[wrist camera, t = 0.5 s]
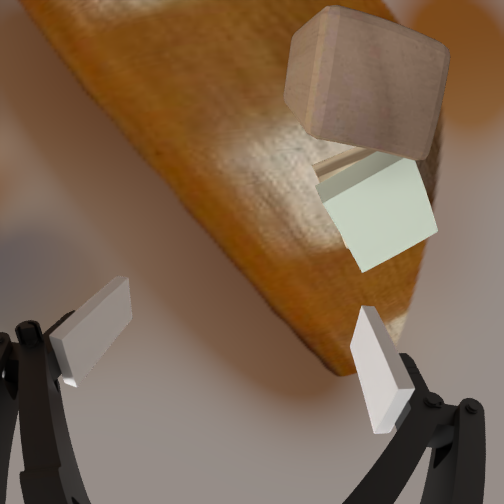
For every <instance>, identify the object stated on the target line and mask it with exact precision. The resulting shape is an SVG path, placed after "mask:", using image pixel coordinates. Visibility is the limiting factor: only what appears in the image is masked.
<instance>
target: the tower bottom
mask: <svg viewBox="0 0 504 504" xmlns="http://www.w3.org/2000/svg"><path fill="white" fill-rule="evenodd" d="M375 152H376V151H375V150H371V149H366V148H362V147H355V148H353V149H350V150H348V151H345V152H343V153H340V154H338V155H336V156H333V157H331V158H328V159H326V160H324V161H321V162H319V163H316V164H314V165H312V167H313V169H314V171H315V174H316V176H317V178H318V180H319V183H321V182H323V181H325V180H327V179H328V178H330V177H332V176H334V175H335V174H337V173H339V172H341V171H342V170H344V169H346V168H348V167H350V166H351V165H353V164H355V163H357V162H359V161H360V160H362V159H364V158H366V157H367V156H369V155H371V154H373V153H375ZM341 236H342V235H341ZM342 238H343V237H342ZM343 241H344V243H345V245H346V248H347V249H348V248H349V247H348V246H347V244H346V242H345V240H344V239H343Z"/></svg>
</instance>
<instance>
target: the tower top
mask: <svg viewBox="0 0 504 504" xmlns="http://www.w3.org/2000/svg"><path fill="white" fill-rule="evenodd" d="M315 187H316V189H317V191H318V194H319V196H320V199H321V201H322V203H323V205H324V207H325V208H326V210H327V212H328V213H329V215H330V217H331V218H332V220H333V222H334V223H335V225H336V227H337V228H338V230H339V232H340V234H341V235H342V237H343V239H344V240H345V242H346V244H347V246H348V247H349V249H350V251H351V253H352V255H353V256H354V258H355V260H356V262H357V264H358V265H359V267H360V269H361V271H362V273H363V272H365V271H367V270H369V269H371V268H373V267H375V266H376V265H378V264H380V263H382V262H384V261H386V260H388V259H390V258H391V257H393V256H395V255H397V254H399V253H401V252H402V251H404V250H406V249H408V248H410V247H411V246H413V245H415V244H417V243H419V242H420V241H422V240H424V239H426V238H427V237H429V236H431V235H432V234H434V233H436V232H438V229H437V226H436V222H435V219H434V215H433V212H432V209H431V205H430V202H429V199H428V196H427V193H426V190H425V187H424V184H423V181H422V178H421V176H420V173H419V170H418V168H417V165H416V162H415V160H411V159H407V158H403V157H399V156H395V155H391V154H387V153H383V152H379V151H376V152H375V153H373V154H371V155H369V156H367V157H366V158H364V159H362V160H360V161H359V162H357V163H355V164H353V165H351V166H350V167H348V168H346V169H344V170H342V171H341V172H339V173H337V174H335V175H334V176H332V177H330V178H328V179H327V180H325V181H323V182H321V183H319V184H318V185H316V186H315Z"/></svg>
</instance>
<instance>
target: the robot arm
mask: <svg viewBox="0 0 504 504" xmlns="http://www.w3.org/2000/svg"><path fill="white" fill-rule="evenodd" d="M131 319H132V310H131V301H130V290H129V280H128V277H122V276H116V277H115V278H114V279H113V280H111V281H110V282H109V283H108V284H107V285H106V286H105V287H103V288H102V289H101V290H100V291H98V292H97V293H96V294H95V295H94V296H93V297H91V298H90V299H89V300H88V301H87V302H86V303H85V304H83V305H82V306H81V307H80V308H79V309H78V310H77V311H75V310H73V311H71V312H69V313H67V314H65V315H64V316H63V317H62V318H61V319H60V320H58V321H57V322H56V323H55V324H54V325H53V326H51V327H50V328H49V329H48V330H47V331H46V332H45V333H44V334H43V335H42V331H41V328H40V325H39V323H38V322H37V321H32V320H28V321H24V322H22V323H20V324H19V325H17V326H16V328H15V332H16V335H17V338H18V341H19V343H15V342H11V340H10V337H9V335H8V334H7V333H4V332H0V504H5V501H6V489H7V477H8V468H9V460H10V452H11V446H12V440H13V434H14V430H15V425H16V419H17V415H18V411H19V421H20V435H21V444H22V453H23V459H24V467H25V470H24V471H22V472H20V484H21V489H22V493H23V499H24V503H25V504H91V503H90V501H89V498H88V496H87V493H86V490H85V487H84V485H83V481H82V478H81V476H80V472H79V469H78V466H77V462H76V459H75V455H74V452H73V448H72V444H71V440H70V437H69V432H68V428H67V423H66V418H65V414H64V409H63V403H62V397H61V391H60V384H59V381H58V379H57V378H58V377H59V376H60V375H61V374H62V376H63V379H64V382H65V383H67V384H69V385H72V386H74V387H78V386H79V385H80V383H81V382H82V381H83V380H84V378H85V377H86V376H87V374H88V373H89V372H90V370H91V369H92V368H93V367H94V365H95V364H96V363H97V361H98V360H99V359H100V358H101V357H102V355H103V354H104V353H105V351H106V350H107V349H108V348H109V346H110V345H111V344H112V343H113V341H114V340H115V339H116V338H117V337H118V335H119V334H120V333H121V332H122V330H123V329H124V328H125V327H126V326H127V324H128V323H129V322H130V321H131ZM350 348H351V352H352V355H353V358H354V362H355V365H356V369H357V372H358V376H359V379H360V383H361V386H362V390H363V394H364V397H365V401H366V405H367V408H368V412H369V416H370V420H371V424H372V428H373V432H374V434H380V433H390V431H391V430H392V428H393V427H394V425H396V428H397V432H396V434H395V436H394V437H393V439H392V440H391V441H390V443H389V444H388V446H387V448H386V449H385V450H384V452H383V453H382V455H381V456H380V457H379V459H378V460H377V461H376V463H375V464H374V465H373V467H372V468H371V469H370V471H369V472H368V473H367V475H366V476H365V477H364V478H363V480H362V481H361V482H360V484H359V485H358V486H357V487H356V488H355V489H354V491H353V492H352V493H351V494H350V495H349V497H348V498H347V499H346V500H345V501H344V502H343V503H342V504H394V502H395V501H396V499H397V498H398V496H399V494H400V493H401V491H402V489H403V488H404V487H405V485H406V483H407V482H408V480H409V478H410V476H411V475H412V473H413V471H414V469H415V468H416V466H417V464H418V462H419V460H420V459H421V457H422V455H423V453H424V451H425V449H426V447H431V448H432V452H431V457H430V463H429V469H428V473H427V478H426V482H425V487H424V491H423V495H422V499H421V502H420V504H483V496H484V483H485V461H486V443H485V441H486V439H485V418H484V417H485V416H484V409H483V406H482V405H481V403H479V402H478V401H477V400H475V399H472V398H466V399H463V400H462V401H461V402H460V404H459V405H458V406H454V405H448V404H445V403H444V401H443V399H442V398H441V397H440V396H439V395H437V394H436V393H433V392H430V391H429V389H428V387H427V386H426V383H425V381H424V380H423V378H422V376H421V374H420V372H419V370H418V368H417V366H416V364H415V362H414V360H413V359H412V358H411V357H410V356H409V355H407V354H406V353H398V351H397V349H396V347H395V345H394V343H393V341H392V339H391V337H390V335H389V333H388V331H387V330H386V328H385V326H384V324H383V322H382V320H381V318H380V316H379V314H378V312H377V311H376V309H375V307H374V306H361V310H360V314H359V317H358V321H357V324H356V328H355V331H354V335H353V338H352V341H351V345H350Z"/></svg>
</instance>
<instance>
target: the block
mask: <svg viewBox="0 0 504 504" xmlns="http://www.w3.org/2000/svg"><path fill="white" fill-rule="evenodd" d="M449 63H450V52H449V49H448V48H446V46H444V45H443V44H442V43H441V42H439V41H437V40H435V39H432V38H430V37H428V36H426V35H424V34H421V33H419V32H417V31H414V30H412V29H410V28H407V27H405V26H402V25H399V24H397V23H394V22H391V21H389V20H386V19H383V18H380V17H377V16H374V15H371V14H368V13H364V12H361V11H358V10H354V9H350V8H347V7H343V6H339V5H334V6H326V7H325V8H324V9H323V10H321V11H320V12H319V13H318V14H317V15H315V16H314V17H313V18H312V19H311V20H309V21H308V22H307V23H306V24H305V25H304V26H302V27H301V28H300V29H299V30H298V31H297V32H296V33H295V34H294V35H293V37H292V40H291V47H290V54H289V61H288V68H287V76H286V83H285V90H284V100H285V103H286V104H287V106H288V107H289V108H290V110H291V111H292V113H293V114H294V115H295V117H296V118H297V119H298V121H299V122H300V124H301V125H302V126H303V128H304V129H305V131H306V132H307V133H308V134H309V135H311V136H313V137H314V138H316V139H321V140H326V141H332V142H337V143H342V144H347V145H352V146H357V147H362V148H366V149H371V150H375V151H379V152H383V153H387V154H391V155H395V156H399V157H403V158H407V159H411V160H425V159H426V157H427V156H428V154H429V152H430V148H431V145H432V141H433V137H434V134H435V130H436V126H437V122H438V118H439V113H440V109H441V105H442V100H443V95H444V90H445V85H446V80H447V74H448V69H449Z"/></svg>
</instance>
